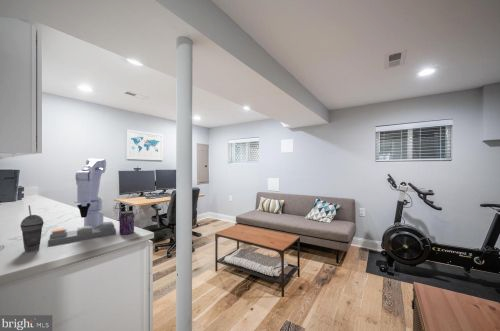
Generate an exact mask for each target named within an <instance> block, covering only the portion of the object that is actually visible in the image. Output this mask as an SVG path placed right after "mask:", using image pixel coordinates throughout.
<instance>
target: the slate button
mask: <svg viewBox="0 0 500 331" xmlns="http://www.w3.org/2000/svg"><path fill="white" fill-rule="evenodd" d="M112 223H113V222H112V221H103V223H102V226H108V225H112Z"/></svg>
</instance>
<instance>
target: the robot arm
mask: <svg viewBox="0 0 500 331" xmlns="http://www.w3.org/2000/svg"><path fill="white" fill-rule="evenodd" d="M106 167H107V159H104V158H87V159H86V162H85V166H84V167H83V168H82V169H81V170H78V171H77V172H76V173H75V178H74V179H75V184H76V186H77V188H76V189H77V193H76V200H74V204H76V206H77V208H78V209H79V215H80V218H81V219H82V218H83V226H82V227H86V226H92V228H96V227H100V224H102V223H104V212H103V211H102V210H103V200H102V198H100V197H99V191H100V184H101V177H102V175H103V174H105V173H106V169H107V168H106Z"/></svg>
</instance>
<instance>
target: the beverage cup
mask: <svg viewBox="0 0 500 331" xmlns="http://www.w3.org/2000/svg"><path fill="white" fill-rule="evenodd" d="M27 207H28V213H29V215H28V216H26V217H24V218H23V219H22V221H21V222H20V230H21V232H22V233H21V234H22V242H23V249H24V252H25V253H29V252H35V251H38V250H40V245H41V239H42V232H43V227H44V223H45V222H44V219H43V217H42V216H40V215H38V214H32V211H31V205H28V206H27Z"/></svg>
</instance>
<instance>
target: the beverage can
mask: <svg viewBox="0 0 500 331" xmlns="http://www.w3.org/2000/svg"><path fill="white" fill-rule="evenodd" d="M118 232H119V234H121V235H124V234H125V235H130V234H132V233H133V232H135V213H134V210H124V211H120V215H119V231H118Z"/></svg>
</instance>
